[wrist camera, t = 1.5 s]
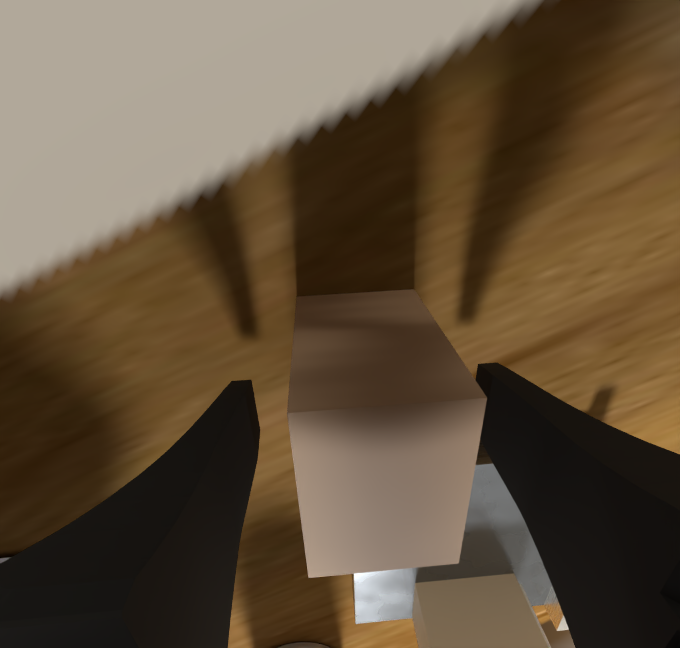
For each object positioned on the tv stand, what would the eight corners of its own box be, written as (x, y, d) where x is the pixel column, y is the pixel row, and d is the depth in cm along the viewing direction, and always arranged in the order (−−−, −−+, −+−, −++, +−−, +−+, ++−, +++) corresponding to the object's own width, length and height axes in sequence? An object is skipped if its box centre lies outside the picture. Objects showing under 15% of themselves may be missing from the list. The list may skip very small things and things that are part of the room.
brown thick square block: (309, 425, 15) (309, 582, 10) (296, 296, 13) (287, 412, 7) (406, 418, 15) (457, 568, 10) (413, 288, 13) (487, 397, 8)
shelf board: (353, 598, 21) (358, 651, 19) (347, 452, 16) (353, 501, 14) (545, 579, 21) (572, 629, 19) (598, 432, 16) (640, 476, 14)
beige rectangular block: (412, 616, 20) (434, 721, 16) (415, 583, 19) (439, 689, 15) (508, 606, 20) (550, 707, 17) (518, 573, 19) (566, 675, 15)
